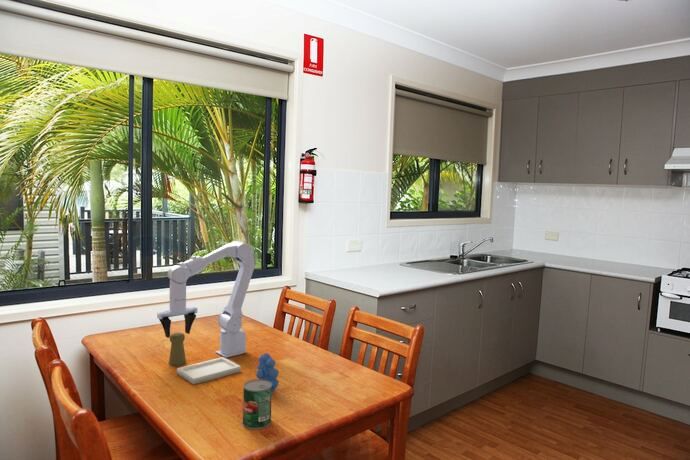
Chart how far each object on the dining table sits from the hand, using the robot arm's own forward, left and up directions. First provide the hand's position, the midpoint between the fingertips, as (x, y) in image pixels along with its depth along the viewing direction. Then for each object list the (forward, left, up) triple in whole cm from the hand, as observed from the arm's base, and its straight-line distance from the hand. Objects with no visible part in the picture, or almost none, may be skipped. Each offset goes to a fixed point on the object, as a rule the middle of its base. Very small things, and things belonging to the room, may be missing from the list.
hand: (177, 335), depth 180 cm
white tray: (-4, +16, -10) cm, 19 cm away
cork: (0, 0, -11) cm, 11 cm away
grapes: (-10, +41, -11) cm, 44 cm away
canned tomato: (+4, +57, -11) cm, 58 cm away
